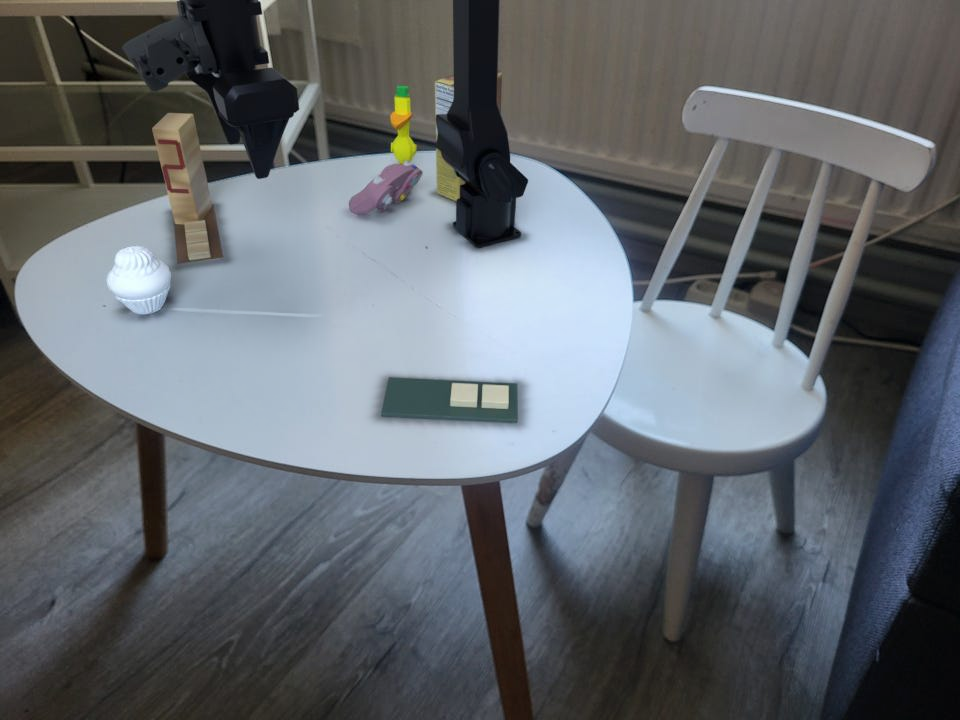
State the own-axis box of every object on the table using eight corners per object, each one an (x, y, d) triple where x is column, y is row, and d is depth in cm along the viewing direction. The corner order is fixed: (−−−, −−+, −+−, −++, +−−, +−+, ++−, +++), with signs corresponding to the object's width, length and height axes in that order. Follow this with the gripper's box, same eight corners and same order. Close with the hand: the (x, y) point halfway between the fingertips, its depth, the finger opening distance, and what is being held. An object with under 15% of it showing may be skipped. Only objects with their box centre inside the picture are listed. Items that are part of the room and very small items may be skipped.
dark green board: (381, 416, 66) (380, 406, 65) (388, 380, 70) (388, 370, 69) (516, 423, 66) (517, 413, 65) (516, 386, 70) (517, 376, 69)
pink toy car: (369, 232, 95) (386, 193, 90) (343, 209, 96) (359, 169, 90) (414, 203, 102) (433, 166, 97) (390, 182, 102) (407, 143, 97)
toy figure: (410, 185, 103) (408, 98, 96) (385, 182, 103) (380, 95, 96) (420, 165, 108) (418, 81, 101) (396, 163, 108) (393, 79, 101)
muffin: (149, 284, 81) (133, 227, 77) (191, 300, 79) (176, 242, 75) (102, 312, 77) (82, 252, 73) (145, 330, 75) (127, 270, 70)
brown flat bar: (173, 211, 95) (170, 203, 94) (214, 206, 96) (212, 198, 95) (178, 266, 84) (175, 257, 84) (223, 260, 86) (222, 251, 85)
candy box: (476, 173, 107) (480, 63, 97) (499, 182, 104) (506, 71, 95) (434, 193, 101) (433, 79, 92) (457, 203, 99) (459, 87, 90)
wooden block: (212, 206, 95) (193, 113, 88) (199, 225, 91) (177, 130, 84) (189, 205, 95) (168, 112, 88) (174, 224, 91) (151, 128, 84)
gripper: (97, -28, 66) (141, 141, 76) (140, 23, 54) (187, 217, 64) (222, -38, 71) (249, 123, 81) (289, 7, 59) (311, 191, 68)
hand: (247, 159), depth 73 cm, fingers open, 9 cm apart
